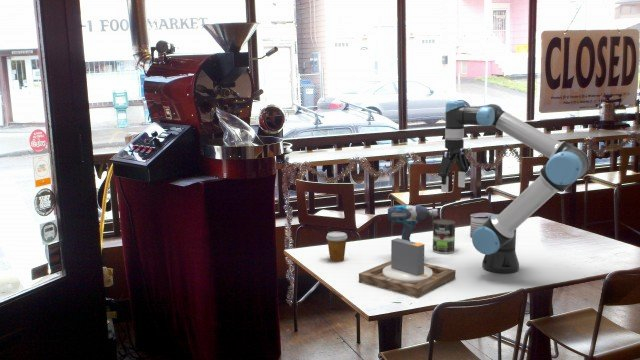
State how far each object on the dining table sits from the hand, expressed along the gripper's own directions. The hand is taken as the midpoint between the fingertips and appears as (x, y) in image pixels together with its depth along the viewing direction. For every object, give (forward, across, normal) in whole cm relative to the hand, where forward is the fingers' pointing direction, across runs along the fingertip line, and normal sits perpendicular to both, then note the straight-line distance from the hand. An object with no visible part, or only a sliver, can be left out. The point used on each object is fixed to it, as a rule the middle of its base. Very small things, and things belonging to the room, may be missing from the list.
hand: (453, 189), depth 262 cm
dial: (+33, +23, -7) cm, 41 cm away
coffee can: (+35, -22, -17) cm, 45 cm away
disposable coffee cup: (+35, +20, -47) cm, 62 cm away
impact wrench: (+35, -2, -21) cm, 41 cm away
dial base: (+35, +23, -7) cm, 42 cm away
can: (+35, -55, -15) cm, 67 cm away
